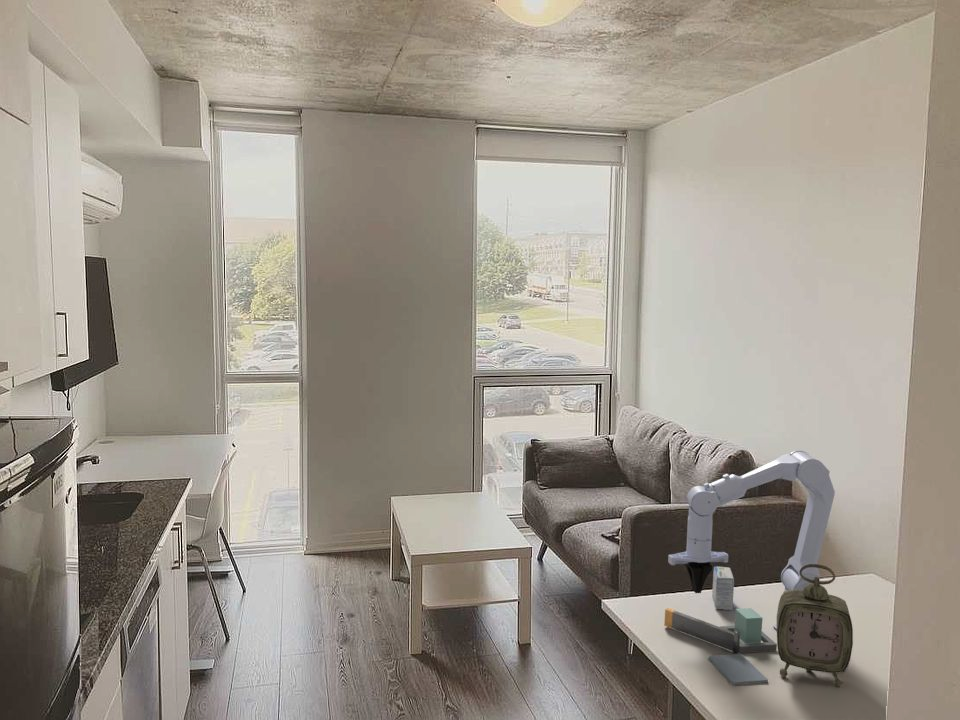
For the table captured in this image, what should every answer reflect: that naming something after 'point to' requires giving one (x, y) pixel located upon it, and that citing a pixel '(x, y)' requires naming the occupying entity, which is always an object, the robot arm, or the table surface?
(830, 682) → the table surface
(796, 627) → the tabletop clock
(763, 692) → the table surface
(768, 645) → the dock
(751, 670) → the mat
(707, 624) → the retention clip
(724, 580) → the medicine box
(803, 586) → the robot arm
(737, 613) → the plug
